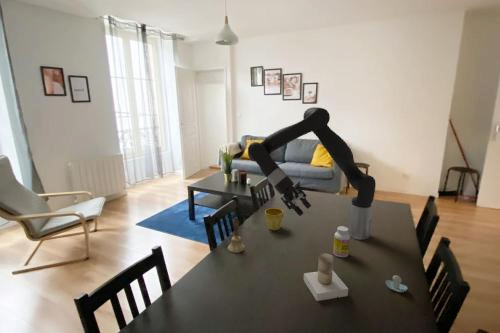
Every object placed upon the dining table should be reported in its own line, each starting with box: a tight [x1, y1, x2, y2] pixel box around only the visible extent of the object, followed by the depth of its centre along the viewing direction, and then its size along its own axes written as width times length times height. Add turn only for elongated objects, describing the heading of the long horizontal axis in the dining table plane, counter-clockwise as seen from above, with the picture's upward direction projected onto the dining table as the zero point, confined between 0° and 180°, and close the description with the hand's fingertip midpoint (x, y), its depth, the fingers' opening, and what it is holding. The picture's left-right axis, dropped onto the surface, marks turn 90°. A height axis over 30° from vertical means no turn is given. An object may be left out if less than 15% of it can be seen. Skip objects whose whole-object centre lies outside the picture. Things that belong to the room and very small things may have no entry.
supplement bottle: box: [332, 225, 351, 258], centre depth 127 cm, size 7×7×13 cm
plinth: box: [303, 270, 349, 302], centre depth 105 cm, size 12×12×3 cm
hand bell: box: [227, 216, 246, 254], centre depth 132 cm, size 8×8×16 cm
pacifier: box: [385, 274, 408, 293], centre depth 104 cm, size 7×6×6 cm
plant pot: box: [264, 207, 284, 231], centre depth 154 cm, size 10×10×10 cm
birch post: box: [317, 252, 334, 285], centre depth 104 cm, size 5×5×10 cm
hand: (305, 210), depth 115 cm, fingers open, 8 cm apart
